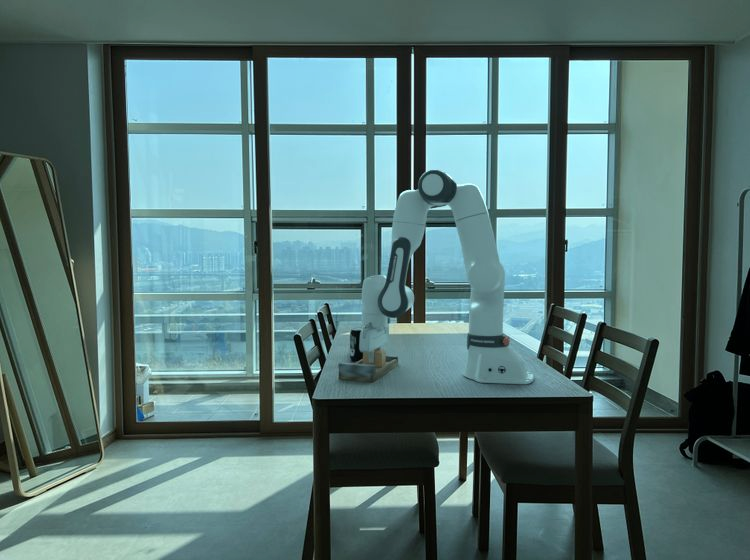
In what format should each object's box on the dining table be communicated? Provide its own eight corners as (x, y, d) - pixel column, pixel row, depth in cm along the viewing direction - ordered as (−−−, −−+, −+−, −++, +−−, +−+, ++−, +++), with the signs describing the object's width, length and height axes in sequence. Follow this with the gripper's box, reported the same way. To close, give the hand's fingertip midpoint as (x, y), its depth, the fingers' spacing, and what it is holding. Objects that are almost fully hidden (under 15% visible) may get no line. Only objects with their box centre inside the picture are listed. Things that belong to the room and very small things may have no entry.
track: (398, 364, 188) (398, 350, 188) (373, 382, 164) (373, 366, 163) (367, 361, 192) (367, 348, 192) (338, 378, 168) (338, 363, 167)
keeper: (385, 364, 183) (385, 350, 182) (381, 366, 179) (381, 352, 178) (367, 362, 185) (367, 349, 185) (363, 365, 181) (363, 351, 181)
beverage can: (365, 362, 191) (365, 330, 190) (348, 361, 193) (348, 329, 192) (369, 358, 198) (369, 327, 197) (352, 358, 199) (352, 327, 198)
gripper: (372, 326, 170) (372, 367, 171) (392, 317, 189) (392, 355, 190) (354, 325, 172) (354, 366, 173) (375, 317, 191) (375, 354, 192)
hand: (374, 360), depth 182 cm, fingers closed on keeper, 4 cm apart
